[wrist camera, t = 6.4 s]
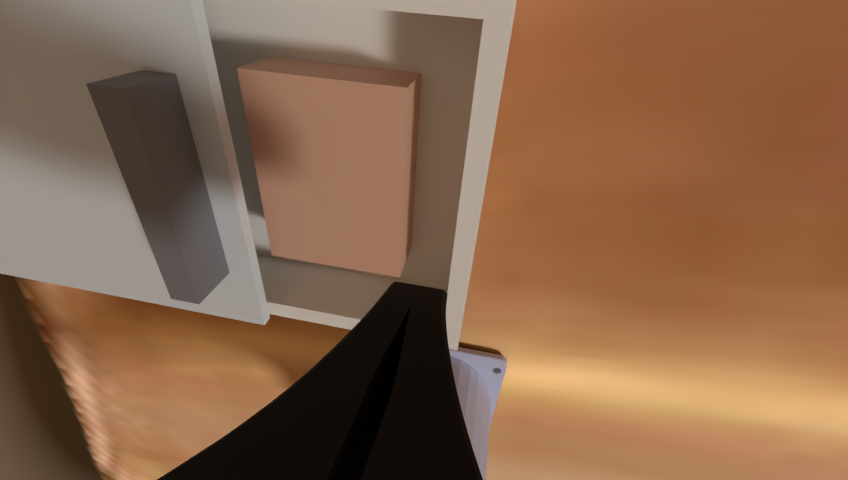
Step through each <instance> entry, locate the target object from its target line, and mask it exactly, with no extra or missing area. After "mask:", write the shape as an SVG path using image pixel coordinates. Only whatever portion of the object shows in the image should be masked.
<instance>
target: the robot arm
mask: <svg viewBox="0 0 848 480" xmlns="http://www.w3.org/2000/svg"><path fill="white" fill-rule="evenodd" d="M447 295H448V294H447V293H446V292H445V291H444V290H443V289H437V288H431V287H425V286H419V285H414V284H408V283H402V282H396V281H395V282H394V283H392V284H391V285H390V286H389V287H388V289H387V290H386V291H385V292H384V294H383V295H382V296H381V297H380V299H379V300H378V301H377V302H376V303H375V305H374V306H373V307H372V308H371V309H370V310H369V311H368V313H367V314H366V315H365V316H364V317H363V318H362V319H361V320H360V321H359V322H358V323H357V325H356V326H355V327H354V328H353V329H352V330H351V331H350V332H349V333H348V334H347V335H346V336H345V337H344V338H343V339H342V340H341V341H340V342H339V343H338V344H337V345H336V346H335V347H334V348H333V349H332V350H331V351H330V352H329V353H328V354H327V355H326V356H324V357H323V358H322V359H321V360H320V361H319V362H318V363H317V364H316V365H315V366H314V367H313V368H312V369H311V370H309V371H308V372H307V373H306V374H305V375H304V376H303V377H301V378H300V379H299V380H298V381H297V382H295V383H294V384H293V385H292V386H291V387H289V388H288V389H287V390H286V391H285V392H283V393H282V394H281V395H280V396H278V397H277V398H276V399H275V400H273V401H272V402H271V403H269V404H268V405H267V406H265V407H264V408H263V409H261V410H260V411H259V412H257V413H256V414H255V415H253V416H252V417H251V418H249V419H248V420H247V421H245V422H244V423H243V424H241V425H240V426H238V427H237V428H236V429H234V430H233V431H231V432H230V433H228V434H227V435H226V436H224V437H223V438H221V439H220V440H218V441H217V442H215V443H214V444H212V445H210V446H209V447H207V448H206V449H204V450H203V451H201V452H200V453H198V454H196V455H195V456H193V457H192V458H190V459H189V460H187V461H186V462H184V463H183V464H181V465H179V466H178V467H176V468H175V469H173V470H172V471H170V472H169V473H167V474H165V475H164V476H162V477H160V478H159V479H157V480H486V474H487V456H488V438H489V428H490V424H491V421H492V417H493V414H494V410H495V406H496V403H497V399H498V396H499V392H500V389H501V385H502V382H503V378H504V375H505V371H506V368H507V359H506V358H505V357H504V356H502V355H498V354H493V353H488V352H483V351H477V350H472V349H467V348H462V347H458V350H453V349H449V346H448V338H447V327H446V303H447Z"/></svg>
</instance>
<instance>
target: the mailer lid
mask: <svg viewBox="0 0 848 480" xmlns="http://www.w3.org/2000/svg"><path fill="white" fill-rule="evenodd" d="M0 273H1V274H7V275H12V276H17V277H22V278H27V279H32V280H37V281H42V282H47V283H52V284H57V285H62V286H67V287H73V288H78V289H83V290H88V291H93V292H98V293H103V294H108V295H113V296H118V297H123V298H128V299H133V300H139V301H144V302H149V303H154V304H159V305H164V306H169V307H174V308H179V309H184V310H189V311H194V312H199V313H205V314H210V315H215V316H220V317H225V318H230V319H235V320H240V321H245V322H250V323H255V324H260V325H265V324H266V323H267V321H268V320H269V318H270V315H269V311H268V306H267V301H266V297H265V292H264V287H263V283H262V278H261V273H260V268H259V264H258V259H257V254H256V250H255V245H254V240H253V236H252V231H251V226H250V222H249V217H248V212H247V208H246V203H245V198H244V194H243V189H242V184H241V179H240V175H239V170H238V165H237V161H236V156H235V151H234V147H233V142H232V137H231V133H230V128H229V123H228V119H227V114H226V109H225V104H224V100H223V95H222V90H221V86H220V81H219V76H218V72H217V67H216V62H215V58H214V53H213V48H212V44H211V39H210V34H209V30H208V25H207V20H206V15H205V11H204V6H203V1H202V0H0Z"/></svg>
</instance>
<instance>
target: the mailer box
mask: <svg viewBox="0 0 848 480" xmlns="http://www.w3.org/2000/svg"><path fill="white" fill-rule="evenodd" d="M202 1H203V6H204V11H205V15H206V20H207V25H208V30H209V34H210V39H211V44H212V48H213V53H214V58H215V62H216V67H217V72H218V76H219V81H220V86H221V90H222V95H223V100H224V104H225V109H226V114H227V119H228V123H229V128H230V133H231V137H232V142H233V147H234V151H235V156H236V161H237V165H238V170H239V175H240V179H241V184H242V189H243V194H244V198H245V203H246V208H247V212H248V217H249V222H250V226H251V231H252V236H253V240H254V245H255V250H256V254H257V259H258V264H259V268H260V273H261V278H262V283H263V287H264V292H265V297H266V301H267V306H268V311H269V314H272V315H277V316H282V317H287V318H292V319H297V320H303V321H308V322H313V323H318V324H323V325H329V326H334V327H339V328H344V329H349V330H352V329H353V328H354V327H355V326H356V325H357V323H358V322H359V321H360V320H361V319H362V318H363V317H364V316H365V315H366V314H367V313H368V311H369V310H370V309H371V308H372V307H373V306H374V305H375V303H376V302H377V301H378V300H379V299H380V297H381V296H382V295H383V294H384V292H385V291H386V290H387V289H388V287H389V286H390V285H391V284H392V283H394V282H395V281H396V282H402V283H408V284H414V285H419V286H425V287H431V288H437V289H443V290H444V291H445V292H446V293H447V294H448V295H447V303H446V327H447V338H448V346H449V349H453V350H458V345H459V339H460V333H461V327H462V321H463V315H464V309H465V304H466V298H467V292H468V286H469V280H470V274H471V268H472V262H473V256H474V250H475V244H476V238H477V233H478V227H479V221H480V215H481V209H482V203H483V197H484V191H485V185H486V179H487V173H488V167H489V162H490V156H491V150H492V144H493V138H494V132H495V126H496V120H497V114H498V108H499V102H500V96H501V91H502V85H503V79H504V73H505V67H506V61H507V55H508V49H509V43H510V37H511V31H512V25H513V20H514V14H515V8H516V2H517V0H202Z"/></svg>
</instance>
